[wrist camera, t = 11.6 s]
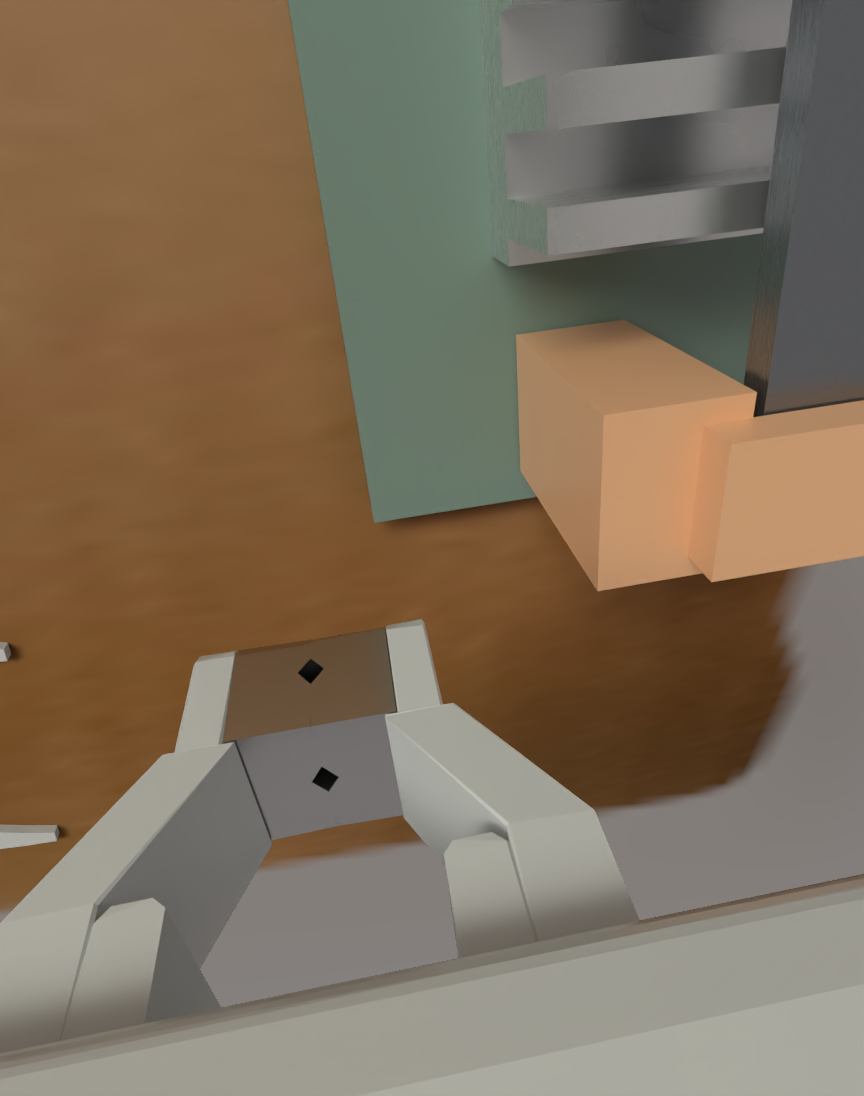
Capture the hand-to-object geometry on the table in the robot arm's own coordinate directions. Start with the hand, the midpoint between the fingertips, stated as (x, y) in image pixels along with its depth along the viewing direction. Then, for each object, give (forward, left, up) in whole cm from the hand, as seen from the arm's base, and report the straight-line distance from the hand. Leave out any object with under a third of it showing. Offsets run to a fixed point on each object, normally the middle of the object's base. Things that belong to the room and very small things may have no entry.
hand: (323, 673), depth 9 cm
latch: (+1, +8, -11) cm, 14 cm away
